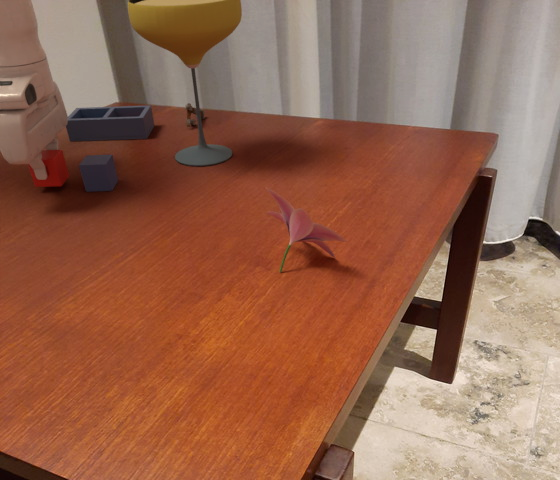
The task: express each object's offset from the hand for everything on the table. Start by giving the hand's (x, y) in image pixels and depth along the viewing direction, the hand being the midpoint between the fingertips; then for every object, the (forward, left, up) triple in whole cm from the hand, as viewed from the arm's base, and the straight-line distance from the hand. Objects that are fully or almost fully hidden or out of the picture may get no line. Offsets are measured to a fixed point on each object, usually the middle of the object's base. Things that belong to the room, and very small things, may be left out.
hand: (49, 171), depth 93 cm
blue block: (+8, 0, -3) cm, 9 cm away
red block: (0, 0, -2) cm, 2 cm away
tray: (+3, +28, -3) cm, 28 cm away
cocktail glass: (+24, +13, -3) cm, 28 cm away
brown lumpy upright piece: (+20, +33, -3) cm, 39 cm away
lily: (+42, -27, -3) cm, 50 cm away
